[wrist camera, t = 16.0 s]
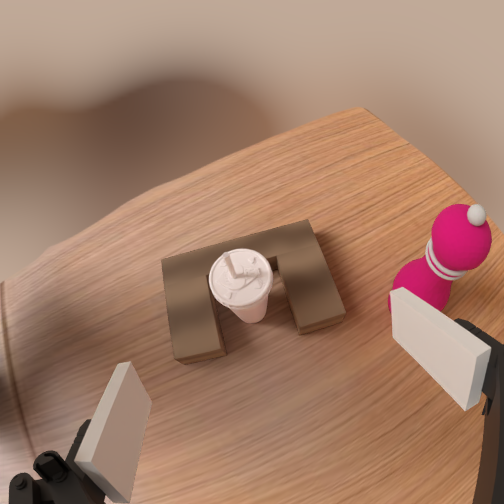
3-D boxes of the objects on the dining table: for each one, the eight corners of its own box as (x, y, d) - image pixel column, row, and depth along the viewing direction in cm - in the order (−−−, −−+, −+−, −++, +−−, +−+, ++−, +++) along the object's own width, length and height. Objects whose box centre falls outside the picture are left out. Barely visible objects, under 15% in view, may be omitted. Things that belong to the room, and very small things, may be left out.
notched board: (341, 321, 37) (346, 312, 34) (184, 364, 36) (174, 359, 33) (307, 234, 44) (307, 219, 41) (170, 271, 43) (161, 259, 40)
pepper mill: (427, 277, 38) (495, 177, 21) (437, 327, 34) (525, 246, 17) (380, 280, 39) (431, 172, 22) (387, 333, 35) (460, 249, 18)
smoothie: (223, 292, 41) (193, 232, 29) (271, 281, 41) (260, 216, 29) (231, 338, 37) (200, 294, 25) (282, 327, 37) (277, 277, 25)
